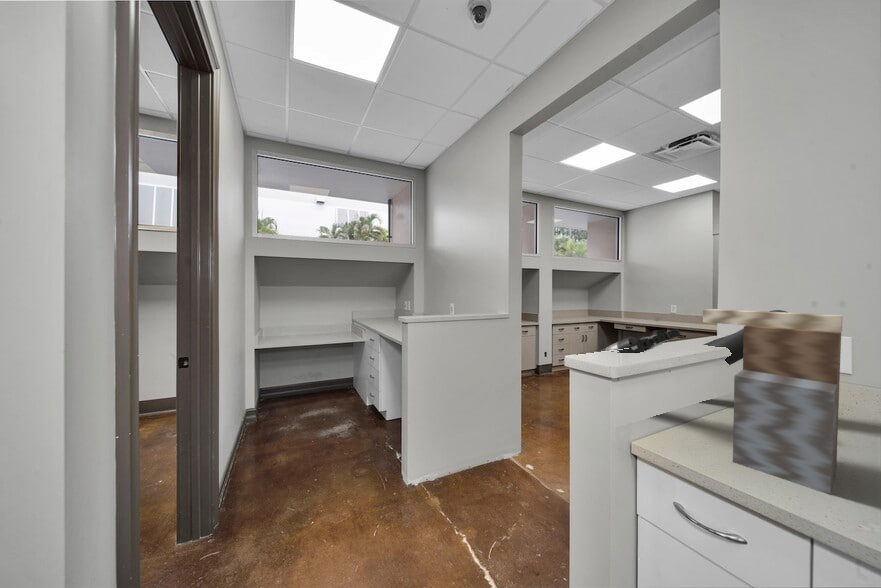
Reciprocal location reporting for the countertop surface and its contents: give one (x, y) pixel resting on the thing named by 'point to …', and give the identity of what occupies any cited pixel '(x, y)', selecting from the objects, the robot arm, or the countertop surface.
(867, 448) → the countertop surface
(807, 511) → the countertop surface
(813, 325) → the ash bar
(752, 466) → the stepped pedestal
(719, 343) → the robot arm
